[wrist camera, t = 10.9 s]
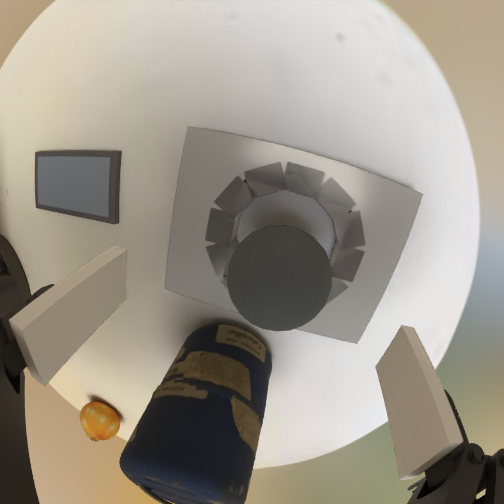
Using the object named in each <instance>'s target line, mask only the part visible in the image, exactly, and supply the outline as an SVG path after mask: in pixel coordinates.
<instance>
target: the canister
mask: <svg viewBox="0 0 504 504" xmlns="http://www.w3.org/2000/svg"><path fill="white" fill-rule="evenodd" d="M271 371H272V362H271V357H270V354H269V352H268V351H267V349H266V347H265V346H264V344H263V343H262V342H261V341H260V340H258V339H257V338H256V337H255V336H254V335H252V334H251V333H249V332H247V331H245V330H244V329H242V328H239V327H235V326H231V325H224V324H213V325H207V326H204V327H202V328H199V329H197V330H196V331H194V332H193V333H192V334H191V335H190V336H189V337H188V338H187V339H186V341H185V343H184V344H183V346H182V347H181V349H180V351H179V353H178V355H177V356H176V358H175V360H174V361H173V363H172V365H171V367H170V368H169V370H168V372H167V374H166V375H165V377H164V379H163V381H162V382H161V385H159V386H158V387H157V389H156V390H155V391H154V392H153V395H152V398H151V400H150V402H149V404H148V406H147V408H146V410H145V412H144V413H143V415H142V417H141V419H140V420H139V422H138V424H137V426H136V428H135V429H134V431H133V433H132V435H131V437H130V439H129V441H128V442H127V444H126V446H125V448H124V450H123V452H122V454H121V457H120V467H121V470H122V471H123V473H124V474H125V475H126V476H127V477H128V478H129V479H130V480H131V481H132V482H133V483H135V484H136V485H138V486H139V487H140V488H141V489H142V490H143V491H144V492H145V493H147V494H148V495H149V496H151V497H152V498H153V499H155V500H156V501H158V502H160V503H162V504H172V503H175V504H244V503H245V500H246V497H247V492H248V488H249V484H250V479H251V474H252V470H253V465H254V460H255V455H256V451H257V446H258V440H259V435H260V431H261V427H262V423H263V418H264V412H265V406H266V399H267V391H268V383H269V378H270V375H271ZM164 499H165V500H164ZM166 500H167V501H166ZM168 501H170V502H172V503H170V502H168Z"/></svg>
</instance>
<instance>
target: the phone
mask: <svg viewBox="0 0 504 504" xmlns="http://www.w3.org/2000/svg"><path fill="white" fill-rule="evenodd" d="M120 165H121V151H100V150H66V151H39V152H35V200H36V208H39V209H44V210H49V211H54V212H58V213H63V214H68V215H73V216H78V217H82V218H87V219H92V220H97V221H102V222H106V223H111V224H117V223H119V184H120Z"/></svg>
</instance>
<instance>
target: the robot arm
mask: <svg viewBox="0 0 504 504" xmlns="http://www.w3.org/2000/svg"><path fill="white" fill-rule="evenodd" d="M126 256H127V250H126V249H123V248H120V247H117V246H112V247H111V248H109V249H108V250H106V251H104V252H103V253H101V254H100V255H98V256H97V257H95V258H94V259H92V260H90V261H89V262H87V263H86V264H84V265H83V266H81V267H80V268H78V269H77V270H76V271H74V272H73V273H71V274H70V275H68V276H67V277H65V278H64V279H62V280H61V281H60V282H58V283H57V284H55V285H54V284H51V285H48V286H45V287H43V288H41V289H39V290H38V291H37V292H35V293H34V294H33V296H32V295H31V296H30V291H29V287H28V283H27V280H26V277H25V274H24V272H23V269H22V267H21V264H20V262H19V260H18V258H17V256H16V254H15V252H14V250H13V249H12V247H11V246H10V244H9V243H8V242H7V240H6V239H5V238H3V237H2V236H1V235H0V504H39V500H38V496H37V492H36V488H35V484H34V480H33V475H32V469H31V464H30V458H29V452H28V444H27V435H26V423H25V397H24V396H25V393H24V391H25V390H24V389H25V387H24V386H25V375H24V372H23V370H24V369H25V367H26V366H27V367H28V369H29V371H30V373H31V376H32V377H34V378H35V379H36V380H37V381H39V382H40V383H41V384H43V385H44V386H46V384H47V383H48V382H49V381H50V380H51V379H52V377H53V376H54V375H55V374H56V373H57V372H58V371H59V370H60V368H61V367H62V366H63V365H64V364H65V363H66V362H67V361H68V359H69V358H70V357H71V356H72V355H73V354H74V353H75V352H76V351H77V350H78V348H79V347H80V346H81V345H82V344H83V343H84V342H85V341H86V340H87V339H88V338H89V337H90V336H91V335H92V334H93V332H94V331H95V330H96V329H97V328H98V327H99V326H100V325H101V324H102V323H103V322H104V321H105V320H106V319H107V318H108V317H109V316H110V315H111V314H112V313H113V312H114V311H115V310H116V309H117V308H118V307H119V306H120V305H121V304H122V303H123V302H124V301H125V300H126ZM376 371H377V374H378V378H379V382H380V386H381V390H382V394H383V398H384V402H385V406H386V411H387V415H388V420H389V424H390V429H391V434H392V439H393V444H394V450H395V455H396V462H397V468H398V474H399V480H404V479H412V478H415V477H417V476H418V475H420V474H421V473H423V472H424V471H425V475H426V476H425V477H424V478H422V479H421V480H419V481H418V482H416V483H414V484H413V485H411V486H410V487H409V488H408V490H411V489H413V488H414V487H416V486H417V488H416V489H415V490H414V491H412V492H413V495H412V497H411V498H410V500H409V502H408V503H407V504H504V449H500V450H499V451H497V452H496V453H495V454H494V455H493V456H489V455H484V452H483V450H482V448H481V447H480V446H479V445H477V444H474V443H470V444H469V442H468V439H467V436H466V433H465V430H464V428H463V425H462V422H461V420H460V417H458V415H459V414H458V412H457V409H455V405H454V402H453V400H452V398H451V397H450V395H449V394H448V393H447V391H446V390H445V389H443V387H442V384H441V382H440V380H439V378H438V376H437V373H436V371H435V369H434V367H433V365H432V363H431V361H430V359H429V356H428V354H427V352H426V350H425V348H424V346H423V344H422V342H421V341H420V339H419V337H418V335H417V333H416V331H415V329H414V328H413V327H408V326H404V325H401V327H400V329H399V330H398V332H397V334H396V335H395V337H394V339H393V340H392V342H391V344H390V345H389V347H388V348H387V350H386V351H385V353H384V355H383V356H382V358H381V359H380V361H379V362H378V364H377V365H376ZM484 489H486V493H485V495H484V496H482V497H481V498H479V499H476V495H477V494H478V493H480V492H481V491H483V490H484Z"/></svg>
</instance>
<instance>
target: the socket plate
mask: <svg viewBox="0 0 504 504" xmlns="http://www.w3.org/2000/svg"><path fill="white" fill-rule="evenodd" d="M281 190H287V191H291V192H294V193H298V194H301V195H305V196H308V197H312V198H314V199H315V200H316V201H317V202H318V203H319V204H320V205H321V206H322V207H323V208H324V209H325V211H326V212H327V213H328V214H329V215H330V216H331V217H332V219H333V224H334V229H335V234H336V242H335V245H334V248H333V251H332V253H331V256H330V259H329V262H330V264H331V267H332V289H331V292H330V295H329V297H328V300H327V303H326V304H325V306H324V307H323V309H322V310H321V311H320V312H319V314H318V315H317V316H316V317H315V318H314V319H312V320H311V321H309V322H308V323H306V324H305V325H303V326H301V327H298V328H295V329H297V330H301V331H305V332H309V333H313V334H317V335H321V336H325V337H329V338H334V339H338V340H342V341H347V342H351V343H356V344H357V343H358V341H359V340H360V338H361V336H362V334H363V332H364V331H365V329H366V327H367V325H368V323H369V321H370V320H371V318H372V316H373V314H374V312H375V310H376V308H377V306H378V304H379V302H380V300H381V298H382V296H383V294H384V292H385V290H386V288H387V285H388V283H389V281H390V279H391V277H392V274H393V272H394V270H395V268H396V265H397V263H398V261H399V258H400V256H401V254H402V251H403V249H404V246H405V244H406V241H407V238H408V236H409V233H410V231H411V228H412V225H413V222H414V220H415V217H416V214H417V211H418V208H419V205H420V202H421V199H422V196H423V194H422V193H420V192H417V191H415V190H413V189H411V188H408V187H406V186H403V185H401V184H398V183H396V182H394V181H391V180H388V179H386V178H383V177H381V176H378V175H375V174H373V173H370V172H367V171H364V170H362V169H359V168H356V167H353V166H350V165H347V164H344V163H341V162H338V161H335V160H332V159H329V158H325V157H322V156H319V155H315V154H312V153H308V152H305V151H301V150H298V149H294V148H290V147H286V146H283V145H279V144H275V143H270V142H266V141H262V140H258V139H253V138H249V137H244V136H239V135H234V134H229V133H224V132H218V131H213V130H207V129H201V128H194V127H188V130H187V135H186V139H185V144H184V149H183V155H182V160H181V165H180V171H179V177H178V183H177V189H176V195H175V202H174V209H173V216H172V224H171V231H170V240H169V249H168V258H167V269H166V280H165V289H166V290H169V291H172V292H175V293H178V294H181V295H183V296H186V297H189V298H192V299H195V300H198V301H201V302H205V303H208V304H211V305H214V306H217V307H220V308H223V309H227V310H230V311H233V312H236V313H239V312H238V310H237V309H236V307H235V306H234V304H233V302H232V301H231V298H230V295H229V291H228V286H227V272H228V265H229V261H230V259H231V257H232V255H233V253H234V252H235V250H236V248H237V246H238V242H237V239H236V232H237V228H238V223H239V219H240V215H241V211H242V210H243V209H244V208H245V207H246V206H247V205H248V204H249V203H250V202H251V201H252V200H253V199H254V198H255V197H258V196H262V195H266V194H269V193H273V192H277V191H281Z"/></svg>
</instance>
